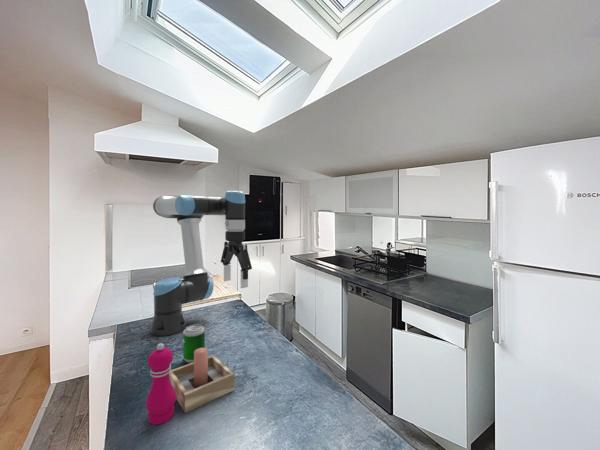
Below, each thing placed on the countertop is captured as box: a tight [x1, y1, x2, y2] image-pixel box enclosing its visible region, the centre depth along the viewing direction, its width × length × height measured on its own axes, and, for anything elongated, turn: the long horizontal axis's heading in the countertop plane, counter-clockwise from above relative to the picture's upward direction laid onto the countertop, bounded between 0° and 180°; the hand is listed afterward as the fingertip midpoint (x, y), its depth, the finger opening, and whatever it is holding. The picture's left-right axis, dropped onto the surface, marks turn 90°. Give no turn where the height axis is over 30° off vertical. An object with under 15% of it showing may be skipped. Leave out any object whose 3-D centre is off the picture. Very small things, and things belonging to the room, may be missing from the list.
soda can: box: [182, 323, 206, 364], centre depth 103 cm, size 8×8×12 cm
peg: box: [193, 347, 209, 389], centre depth 86 cm, size 4×4×12 cm
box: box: [169, 354, 235, 413], centre depth 86 cm, size 15×15×5 cm
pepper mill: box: [145, 342, 177, 425], centre depth 74 cm, size 7×7×20 cm
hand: (235, 284), depth 109 cm, fingers open, 13 cm apart
